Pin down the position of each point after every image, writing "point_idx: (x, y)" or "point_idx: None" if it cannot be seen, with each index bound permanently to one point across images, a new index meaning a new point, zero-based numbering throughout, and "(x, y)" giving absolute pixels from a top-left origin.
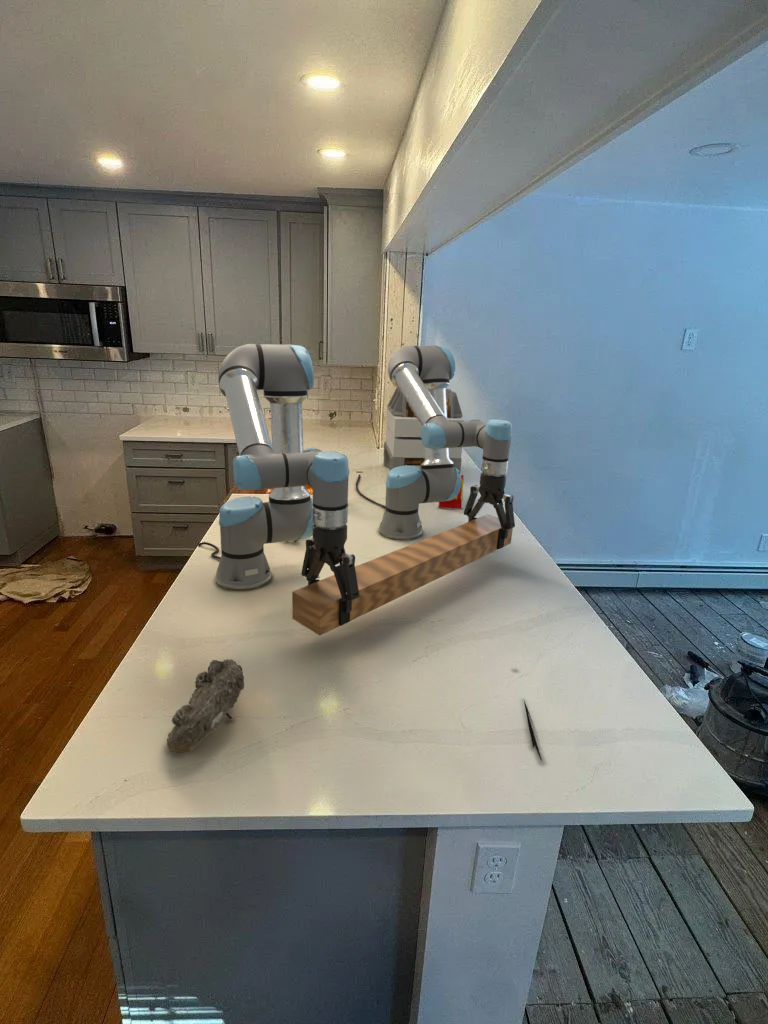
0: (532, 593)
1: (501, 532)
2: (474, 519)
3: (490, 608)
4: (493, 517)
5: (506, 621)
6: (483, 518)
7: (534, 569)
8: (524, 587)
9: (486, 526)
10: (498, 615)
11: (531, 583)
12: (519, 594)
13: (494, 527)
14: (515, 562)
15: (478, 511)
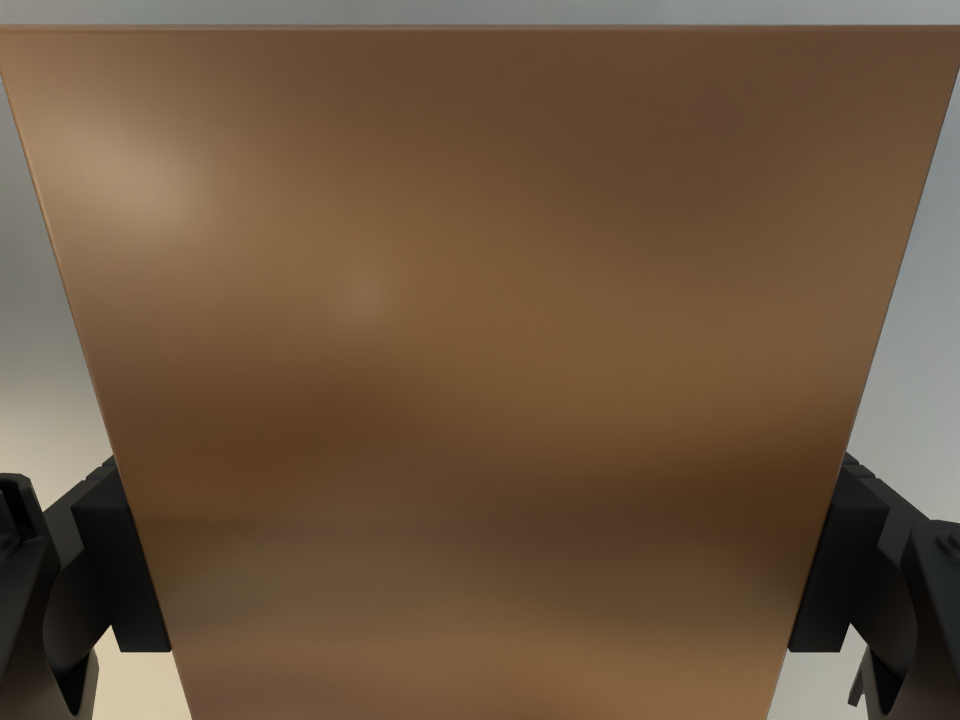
0: (938, 412)
1: None
2: (163, 608)
3: (780, 678)
4: (307, 154)
5: None
6: (217, 432)
7: (849, 7)
8: (867, 378)
9: (552, 707)
10: (837, 699)
11: (896, 288)
12: None
13: (690, 656)
14: (643, 5)
15: (9, 691)
